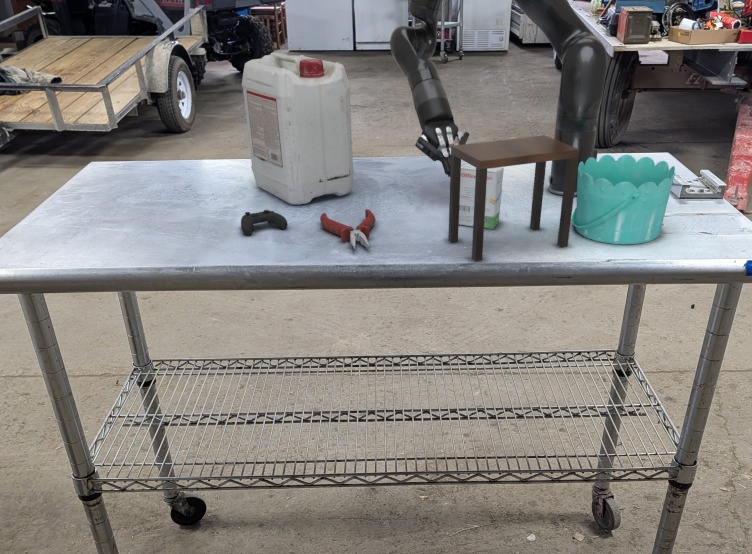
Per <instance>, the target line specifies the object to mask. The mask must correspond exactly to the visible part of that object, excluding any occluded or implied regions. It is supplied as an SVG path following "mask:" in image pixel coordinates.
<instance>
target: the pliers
mask: <svg viewBox="0 0 752 554" xmlns="http://www.w3.org/2000/svg"><path fill="white" fill-rule="evenodd" d="M364 213H365V215H364V216H365V217H364V219H363V220H362V221H361V222H360V223H359V224H358V225H357V226H356V227H355V228H354V227H353V226H351V225H346V224H343V223H342V222H339V221H336V220H334V219H331V218H329V217H328V216H327V213H326V212H322V213H321V214H320V217H319V219H320V224H321V227H322V228H323V229H324V230H325V231H327V232H329V233H332V234H335V235H337V236H340V240H341V241H342V242H344V243H346V242H350V245H351V246H352V248H353V249H354V251H356V248H357V247H356V246H357V245H356V244H357V242H359V243H360V245H362V246H364V247H366V248H367V249H370V248H371V246H370V243H369V240H368V239H369V238H370V230H371V229H372V228H373V227H374V225H375V224H376V216H375V214H374V213H373V212H372V211H371V210H370V209H367V208H366V209H364Z"/></svg>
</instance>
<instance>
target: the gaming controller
mask: <svg viewBox="0 0 752 554" xmlns="http://www.w3.org/2000/svg"><path fill="white" fill-rule="evenodd" d="M262 223H268V224H273V225H275V226H276V227H278V228H280V229H281V230H284V229H286V228H287V227H288V220H287V219H286V217H285V216H283V215H282V214H280V213H278V212H275V211H274V210H269V209H264V210H263V211H258V212H253V213H251V212H250V211H246V212H244V214H243V215H242V216H241V219H240V227H241V230H242V232H243V234H245V236H250V235H252V233H253V230H254V225H257V224H262Z"/></svg>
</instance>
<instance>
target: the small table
mask: <svg viewBox="0 0 752 554" xmlns="http://www.w3.org/2000/svg"><path fill="white" fill-rule="evenodd" d="M578 157H579V149H577V148H575V147H572V146H570V145H567V144H565V143H562V142H560V141H557V140H555V139H554V138H552V137H549V136H547V135H536V136H527V137H520V138H519V137H518V138H510V139H501V140H491V141H483V142H474V143H466V144H464V145H458V144H457V145H455V144H454V146H451V170H450V177H449V206H448V209H449V210H448V238H447V239H448V242H449V243H451V244H453V243H459V227H460V226H459V203H460V176H461V166H462V161H463V162H465V163H469V164H470V165H472V166H474V167H476V180H475V200H474V221H473V226H472V242H471V243H472V244H471V260H473V262H482V261H483V253H484V235H485V234H484V233H485V228H484V219H485V202H486V184H487V169H490V168H498V167H503V168H505V167H514V166H520V165H521V166H522V165H529V164H535V167H534V177H533V188H532V198H531V199H532V200H531V208H530V209H531V210H530V219H529V220H530V222H529V229H530V230H532V231H537V230H540V229H541V219H542V218H541V217H542V210H543V209H542V208H543V199H544V188H545V179H546V168H547V162H552V161H554V160H562V159H567V163H566V171H565V180H564V189H563V195H562V199H561V207H560V215H559V223H558V224H559V225H558V234H557V240H556V241H557V243H556V245H557V246H558V247H560V248H566V247H568V246H569V239H570V229H571V223H572V215H573V205H574V197H575V196H574V190H575V182H576V174H577V166H578Z"/></svg>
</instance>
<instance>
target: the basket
mask: <svg viewBox="0 0 752 554" xmlns="http://www.w3.org/2000/svg"><path fill="white" fill-rule="evenodd" d="M675 171H676V167H675V166H673V165H672V166H671V167H670V166H669V163H668V161H666V160H660V161H658V162H657V163H656V164H655V162H654V160H653V159H652V157H649V156H643V157H641V158H639V159H638V160H637V161H636V159H635V157H633V156H632V155H630V154H623V155H621V156H619V157H618V158H617V159H616V158H615V157H614V156H612V155H610V154H604V155H603V156H601V157H600V158H599V160H596V159H595V158H593V157H591V158H589V159H588V160H587V161H586V163H585V166H584V163H583V162H580V163H579V167H578V178H577V179H578V181H577V196H576V205H575V208H574V211H573V212H572V215H571V223H572V225H573V226H574V229H575V230H576V232H577V233H579V234H580V235H581V236H583V237H584V238H587V239H589V240H593V241H595V242H596V241H597V242H599V243H600V242H601V243H606V244H612V245H624V246H625V245H636V244H637V245H638V244H644V243H648V242H651V241H653V240H656V239H657V238H658V237H659V236H660V234H661V231H662V227H663V223H664V219H665V214H666V211H667V206H668V202H669V199H670V194H671V193H672V187H673V185H674V184H673V180H675V176H676V172H675Z"/></svg>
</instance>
